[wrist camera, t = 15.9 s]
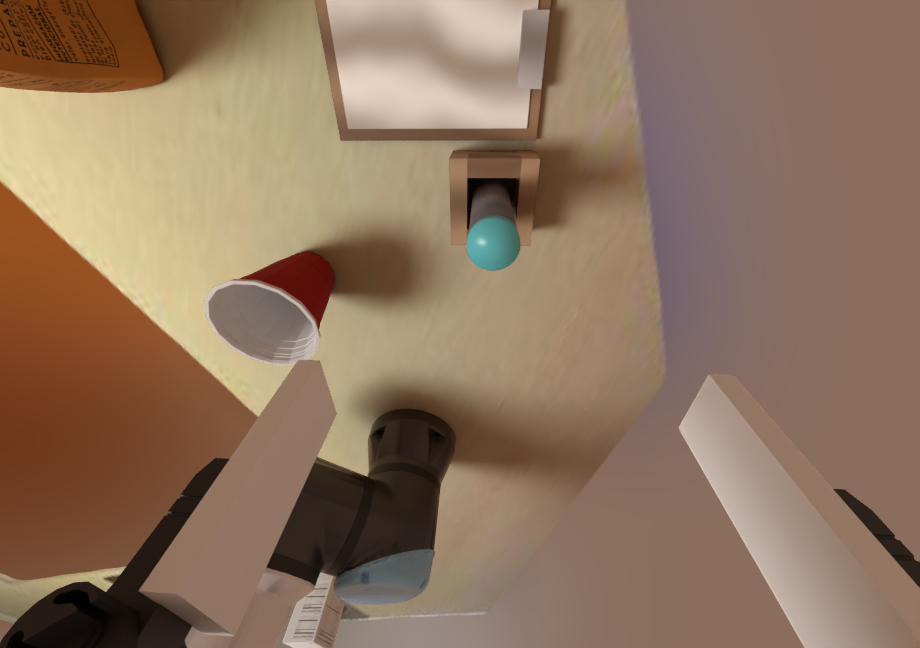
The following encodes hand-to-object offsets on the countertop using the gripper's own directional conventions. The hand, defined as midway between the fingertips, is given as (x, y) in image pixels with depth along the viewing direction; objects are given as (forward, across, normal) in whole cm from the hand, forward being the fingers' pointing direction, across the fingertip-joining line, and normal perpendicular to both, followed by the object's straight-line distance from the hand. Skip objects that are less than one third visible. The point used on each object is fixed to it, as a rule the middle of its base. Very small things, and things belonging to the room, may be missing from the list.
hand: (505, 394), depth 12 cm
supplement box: (+29, +42, +106) cm, 117 cm away
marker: (+29, 0, 0) cm, 29 cm away
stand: (+29, 0, 0) cm, 29 cm away
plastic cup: (+29, +22, +10) cm, 38 cm away
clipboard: (+29, +6, -12) cm, 31 cm away
